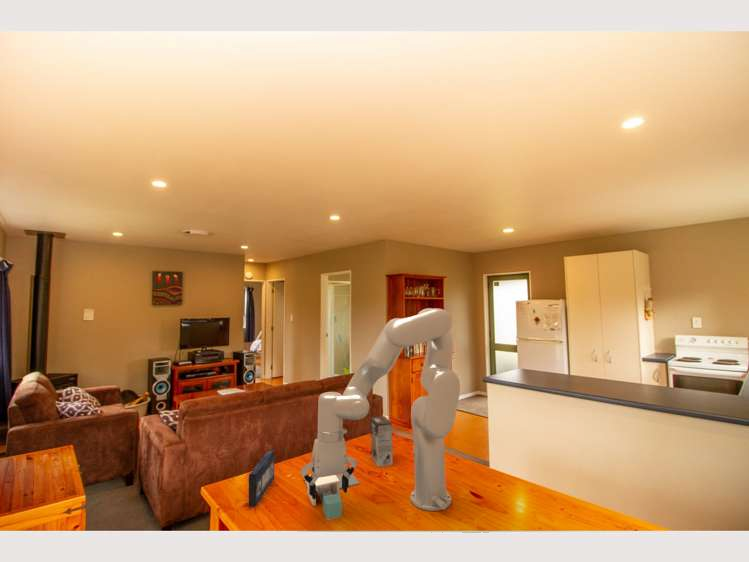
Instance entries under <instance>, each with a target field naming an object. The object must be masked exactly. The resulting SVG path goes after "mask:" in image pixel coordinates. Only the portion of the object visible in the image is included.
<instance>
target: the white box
mask: <svg viewBox="0 0 749 562" xmlns="http://www.w3.org/2000/svg"><path fill="white" fill-rule="evenodd" d="M308 475H309V476H310V475H311V474H308ZM303 478H304V477H303V476H302V479H303ZM304 480H305V478H304V479H303V481H304ZM305 482H306V483H305ZM304 483H305V485H306V484H307V485H306V487H307V490H306V491H307V496H308V495H309V496H308V498H309V497H310V498H309V500H310V499H311V500H310V502H311V505H312V506H313V507H315V506H316V505H317V500H316V499H317V498H315V499H313V498H312V496H311V495H310V494H309V483H308V482H307V481H306V480H305V481H304ZM315 485H316V487H321V486H325V485H328V486H329V488H331V489H330V490H332V493H334V494H338V495H339V497H340V496H341V492H340V491H341V489H340V481H339V479H338V478H337V475H332V476H326V477H319V478H318V479H317V480H316V482H315ZM334 494H333V495H334ZM340 498H341V497H340ZM314 505H315V506H314Z"/></svg>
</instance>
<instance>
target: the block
mask: <svg viewBox="0 0 749 562" xmlns="http://www.w3.org/2000/svg"><path fill="white" fill-rule="evenodd" d="M322 512H324V513H323V515H324V514H325V515H324V517H325V516H326V517H325V519H326V518H327V519H326V521H329V520H328V519H330V520H333V519H332V518H334V519H337V517H338V518H342V517H343V500H342V499H341V497H339V495H338V494H333V495H330V496H325V497H323V505H322ZM341 516H342V517H341Z"/></svg>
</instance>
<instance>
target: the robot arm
mask: <svg viewBox="0 0 749 562" xmlns="http://www.w3.org/2000/svg"><path fill="white" fill-rule="evenodd" d="M452 326H453V319H452V316H451V313H449V312H448V311H447V310H445V309H442V308H431V307H428V308H424V309H422V310H420V311H418V313H417V314H416V315H412V316H409V317H404V318H398V317H395V318H392V319H390V320H389V321H388V322H386V324H385V326H384V327H383V329H382V330H381V332H380V334H379V335H378V338H377V339H376V341H375V343H374V345H373V346H372V347H371V349H370V351H369V353H368V355H367V356H366V357H365V359H364V360H363V362H362V363H361V364H360V366H359V367H358V369H356V371H355V372H354V374H353V375H352V377H351V379H350V381H349V382H348V384H347V386H346V387H345V390H344V391H343V393H342V394H341V393H340V392H336V391H327V392H323V393H321V394H320V395H319V396H318V400H317V401H318V407H317V409H318V410H317V438H315V439H314V443H313V445H312V446H313V447H312V455H311V456H312V457H311V461H310V462H309V463H307V464H306V465H304V466H303V467H301V468H300V473H301V475H302V478H303V477H304V478H305V480H306V481H307V482H308V483H309V494H310V495H311V496H312V498H313V499H315V498H316V497H317V496H316V495H317V492H316V485H315V482H316V480H317V479H318V478H319V477H326V476H332V475H336V476H337V475H341V474H343V475H342V491H343V492H344V493H345V494H346V493H348V489H349V478H350V475H351V474H353V473H354V471H355V468H356V467H357V464H358V461H357V460H356V459H355V458H352V457H350V456H347V445H346V439H345V438H344V435H345V434H346V435H347V434H348V430H347V428H343V427H344V426H343V425H344V423H343V419H345V420H352V421H355V420H357V421H358V420H362V419H365V418H366V416H367V415H368V414H369V411H370V403H369V401H368V399H367V397H368V395H369V393H370V391H371V390H372V388H373V387H374V385H375V384H376V383H377V382H378V381H379V379H381V378H383V377H384V376H386V375H387V374H388V373H390V372H391V371H392V369H393V367H394V365H395V364H396V362H397V360H398V358H399V356H400V354H401V353H402V351H403V349H404V348H408V347H412V346H416V345H420V344H423V343H425V342H426V350H425V351H426V352H425V356H424V361H423V365H422V371H421V375H420V384H421V387H422V388H423V389H424V390H425V391H426V392H427V395H424V396H423V395H422V396H420V397H418V398H416V399H415V400H414V402H413V403H412V406H411V409H410V419H411V426H412V432H413V434H412V435H413V459H414V460H413V462H414V464H413V465H414V490H412V492H411V494H410V502H411V503H412V505H414V506H415V507H416V508H418V509H421V510H424V511H429V512H431V511H434V512H436V511H441V510H442V511H443V510H444V511H445V510H446V509H447V508H448V507H450V505H451V503H452V496H451V494H450V493H449V492H448V490H447V487H446V466H445V465H446V463H445V439H444V438H445V437H446V436H447V435H449V434H450V433H451V431H452V428H453V427H454V424H455V421H456V415H457V410H458V404H459V400H460V395H461V382H460V379H459V376H458V374H457V373H456V372H455V371H454V370H453V369H452V361H453V353H454V341H453V336H452V333H451V332H450V331H451V328H452ZM348 463H349V464H350V466H349V467H348ZM310 470H311V471H312V472H311V474H308V471H310ZM309 475H310V476H309ZM316 499H317V498H316Z"/></svg>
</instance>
